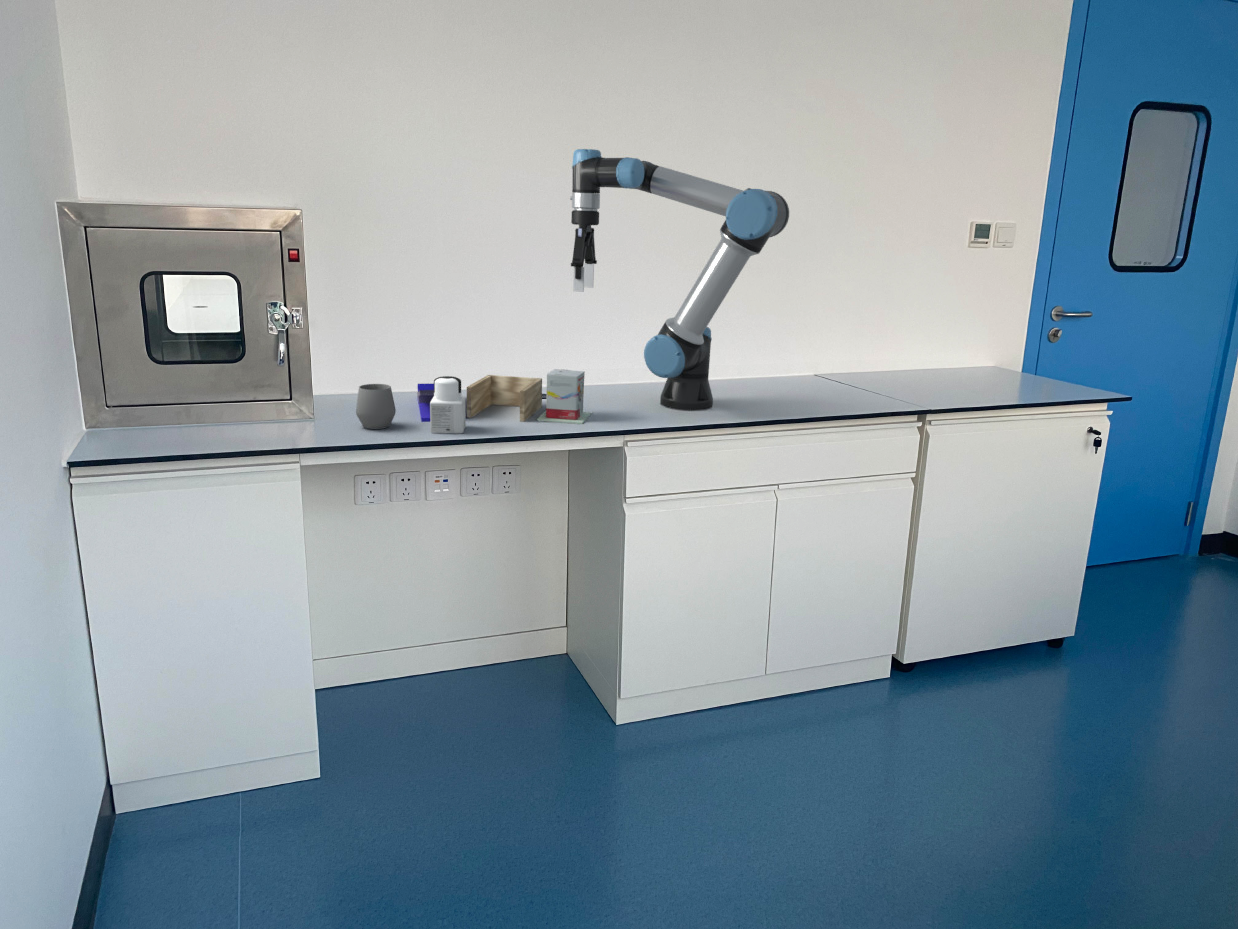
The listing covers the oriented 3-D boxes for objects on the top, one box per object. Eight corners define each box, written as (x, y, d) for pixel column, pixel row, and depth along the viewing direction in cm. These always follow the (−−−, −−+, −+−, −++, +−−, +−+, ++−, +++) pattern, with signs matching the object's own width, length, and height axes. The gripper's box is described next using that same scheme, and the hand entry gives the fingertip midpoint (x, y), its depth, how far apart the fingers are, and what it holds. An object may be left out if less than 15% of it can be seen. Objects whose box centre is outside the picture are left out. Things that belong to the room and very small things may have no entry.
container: (434, 425, 219) (433, 374, 215) (465, 426, 219) (464, 374, 216) (430, 433, 211) (429, 380, 208) (462, 433, 212) (462, 380, 208)
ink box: (576, 420, 228) (578, 375, 224) (545, 418, 229) (545, 373, 226) (584, 413, 236) (585, 369, 233) (553, 411, 237) (553, 367, 234)
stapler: (419, 423, 222) (417, 384, 219) (414, 399, 248) (414, 365, 245) (464, 422, 225) (464, 384, 222) (456, 398, 251) (455, 364, 248)
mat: (591, 414, 237) (591, 412, 237) (581, 424, 226) (582, 422, 226) (547, 410, 239) (547, 409, 239) (536, 420, 228) (536, 419, 228)
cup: (359, 432, 210) (357, 391, 207) (354, 423, 218) (352, 383, 215) (399, 430, 213) (398, 389, 211) (392, 421, 222) (391, 382, 219)
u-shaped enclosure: (541, 406, 243) (542, 378, 241) (524, 421, 226) (524, 391, 224) (488, 403, 246) (488, 374, 243) (466, 417, 228) (466, 387, 226)
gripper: (581, 209, 250) (579, 285, 256) (561, 208, 226) (560, 292, 232) (607, 210, 249) (604, 286, 255) (590, 210, 225) (587, 293, 231)
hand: (583, 289), depth 243 cm, fingers open, 13 cm apart
